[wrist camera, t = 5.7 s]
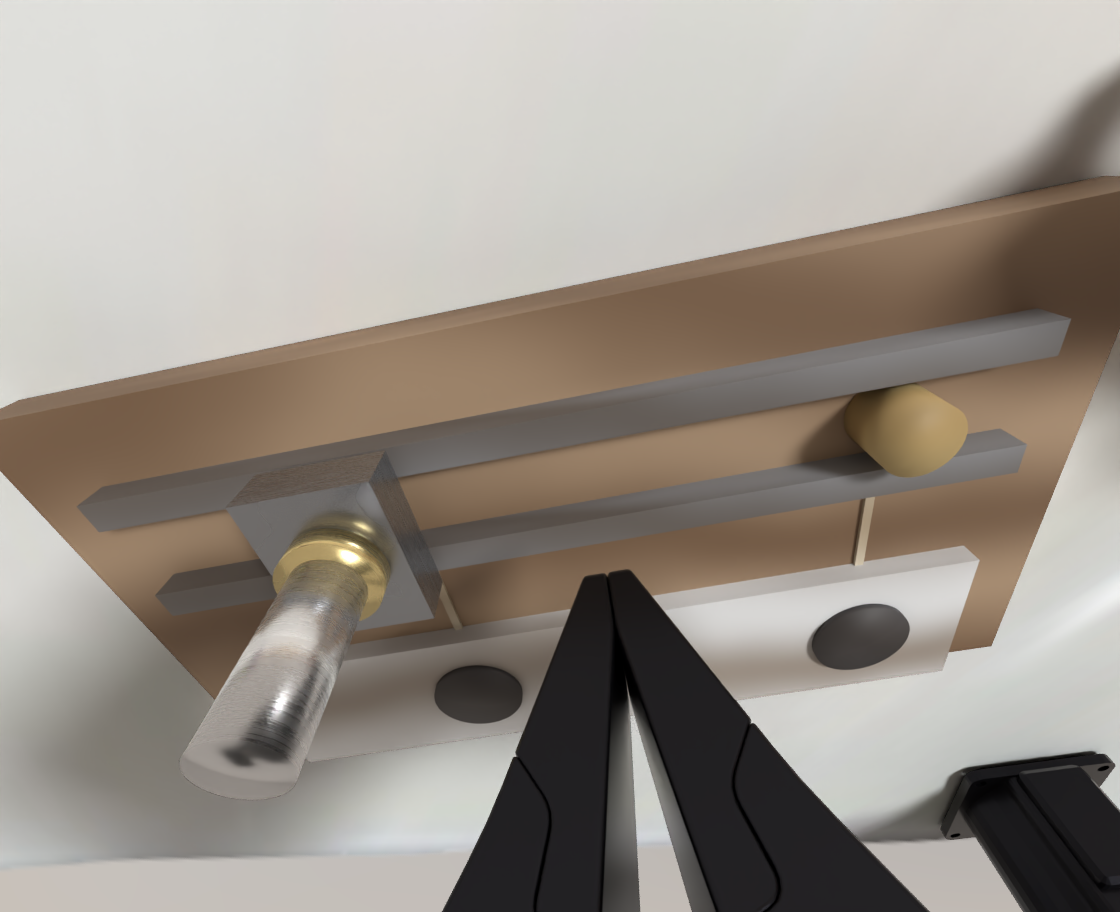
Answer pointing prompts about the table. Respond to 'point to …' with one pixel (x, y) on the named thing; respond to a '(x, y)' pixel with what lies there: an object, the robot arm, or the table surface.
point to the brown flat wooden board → (631, 461)
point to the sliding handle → (309, 613)
